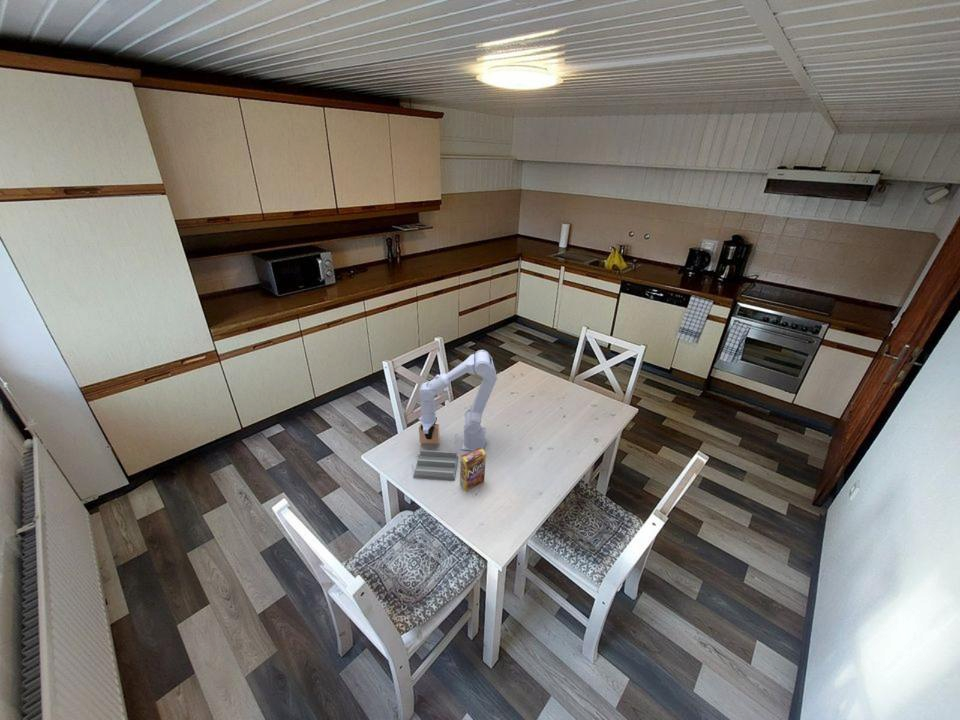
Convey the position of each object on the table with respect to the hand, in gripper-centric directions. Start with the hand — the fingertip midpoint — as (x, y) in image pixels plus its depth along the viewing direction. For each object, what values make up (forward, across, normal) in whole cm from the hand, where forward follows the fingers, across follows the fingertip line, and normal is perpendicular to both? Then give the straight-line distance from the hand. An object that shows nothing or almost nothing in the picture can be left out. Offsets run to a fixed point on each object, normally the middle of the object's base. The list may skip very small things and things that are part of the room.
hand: (429, 435), depth 164 cm
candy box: (+5, +20, +20) cm, 29 cm away
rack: (+5, +13, +5) cm, 15 cm away
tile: (+3, 0, 0) cm, 3 cm away
